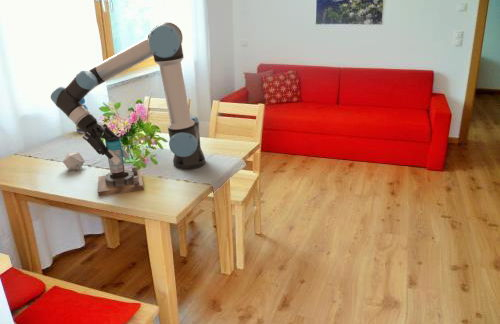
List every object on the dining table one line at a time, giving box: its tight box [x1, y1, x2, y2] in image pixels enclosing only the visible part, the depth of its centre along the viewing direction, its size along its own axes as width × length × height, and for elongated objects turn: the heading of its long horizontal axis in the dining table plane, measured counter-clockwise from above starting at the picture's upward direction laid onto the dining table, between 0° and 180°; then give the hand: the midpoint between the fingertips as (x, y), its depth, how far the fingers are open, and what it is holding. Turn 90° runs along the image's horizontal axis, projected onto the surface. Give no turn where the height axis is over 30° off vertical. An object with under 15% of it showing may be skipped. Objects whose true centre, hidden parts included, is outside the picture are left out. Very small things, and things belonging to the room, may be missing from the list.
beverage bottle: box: [75, 97, 89, 134], centre depth 245 cm, size 8×8×20 cm
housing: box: [97, 166, 144, 197], centre depth 177 cm, size 18×16×5 cm
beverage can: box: [104, 135, 126, 174], centre depth 173 cm, size 6×6×15 cm
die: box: [62, 152, 86, 171], centre depth 194 cm, size 8×9×10 cm
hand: (123, 160), depth 172 cm, fingers closed on beverage can, 6 cm apart
